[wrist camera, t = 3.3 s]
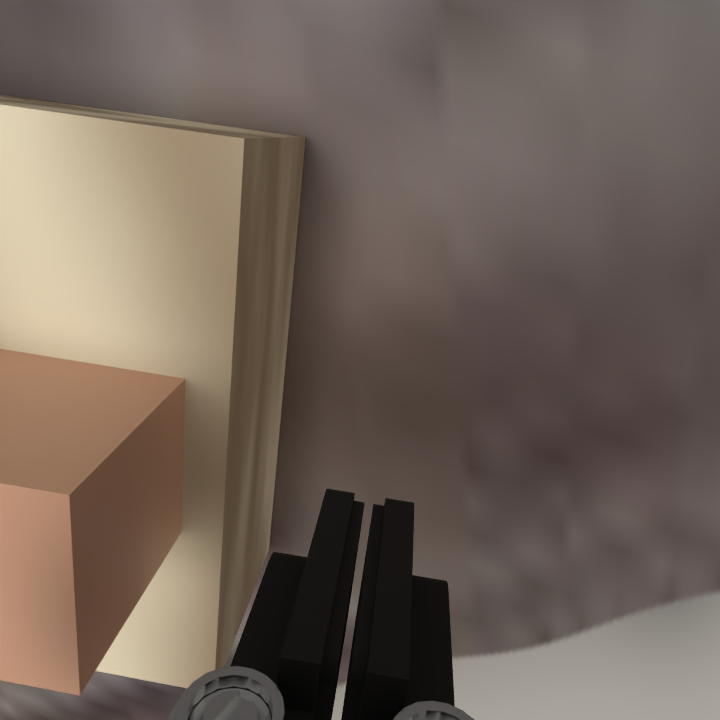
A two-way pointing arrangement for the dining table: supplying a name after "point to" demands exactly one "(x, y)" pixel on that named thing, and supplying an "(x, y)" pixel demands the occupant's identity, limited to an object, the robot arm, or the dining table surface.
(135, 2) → the dining table surface
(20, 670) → the block
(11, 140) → the plate
